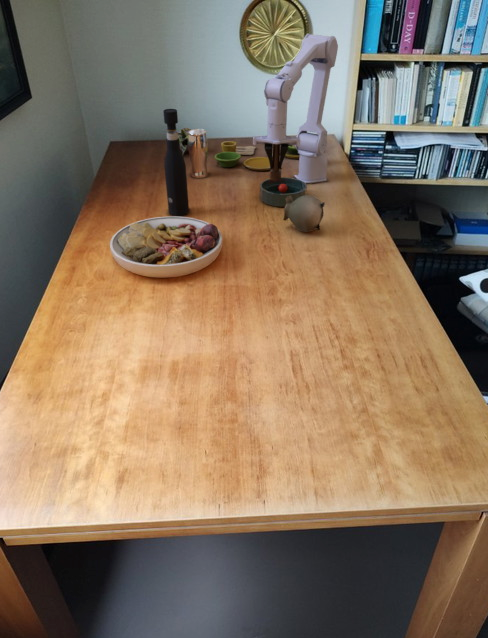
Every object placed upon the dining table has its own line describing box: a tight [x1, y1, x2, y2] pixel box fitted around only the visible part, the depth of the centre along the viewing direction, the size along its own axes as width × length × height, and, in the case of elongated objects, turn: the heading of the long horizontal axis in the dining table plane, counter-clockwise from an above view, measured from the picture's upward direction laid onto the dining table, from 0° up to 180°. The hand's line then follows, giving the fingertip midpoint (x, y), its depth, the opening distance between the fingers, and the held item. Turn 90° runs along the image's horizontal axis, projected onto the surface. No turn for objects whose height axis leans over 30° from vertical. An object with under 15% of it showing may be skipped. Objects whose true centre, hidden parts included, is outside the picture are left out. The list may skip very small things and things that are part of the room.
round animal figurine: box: [282, 194, 326, 233], centre depth 161 cm, size 10×12×10 cm
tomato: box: [279, 184, 287, 193], centre depth 184 cm, size 3×3×3 cm
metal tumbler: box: [187, 128, 209, 179], centre depth 195 cm, size 7×7×15 cm
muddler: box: [269, 144, 282, 181], centre depth 174 cm, size 4×4×11 cm
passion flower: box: [177, 127, 192, 156], centre depth 215 cm, size 11×11×12 cm
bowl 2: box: [259, 176, 308, 208], centre depth 181 cm, size 15×15×4 cm
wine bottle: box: [163, 108, 190, 217], centre depth 164 cm, size 6×6×30 cm
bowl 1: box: [109, 215, 223, 279], centre depth 149 cm, size 30×30×8 cm
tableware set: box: [213, 140, 327, 172], centre depth 210 cm, size 41×28×6 cm
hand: (275, 168), depth 175 cm, fingers closed on muddler, 2 cm apart
